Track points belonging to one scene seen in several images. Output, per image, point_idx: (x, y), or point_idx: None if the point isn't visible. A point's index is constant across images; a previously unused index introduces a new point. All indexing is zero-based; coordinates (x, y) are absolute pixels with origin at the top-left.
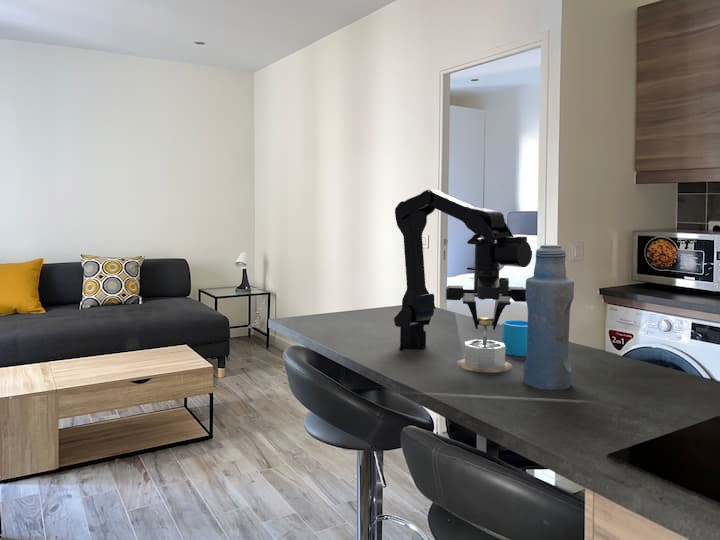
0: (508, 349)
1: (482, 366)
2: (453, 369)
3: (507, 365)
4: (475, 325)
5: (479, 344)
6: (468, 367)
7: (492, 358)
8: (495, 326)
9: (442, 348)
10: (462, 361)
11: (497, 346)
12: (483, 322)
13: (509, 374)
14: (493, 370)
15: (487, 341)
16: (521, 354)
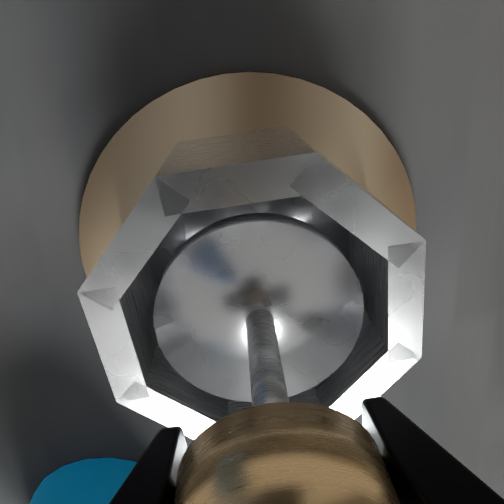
0: None
1: (256, 132)
2: (435, 132)
3: None
4: (409, 424)
5: (302, 331)
6: (345, 156)
7: (183, 153)
8: (143, 459)
9: None
10: None
11: (153, 312)
12: (314, 445)
13: (78, 121)
14: (181, 132)
15: None
16: (74, 475)
